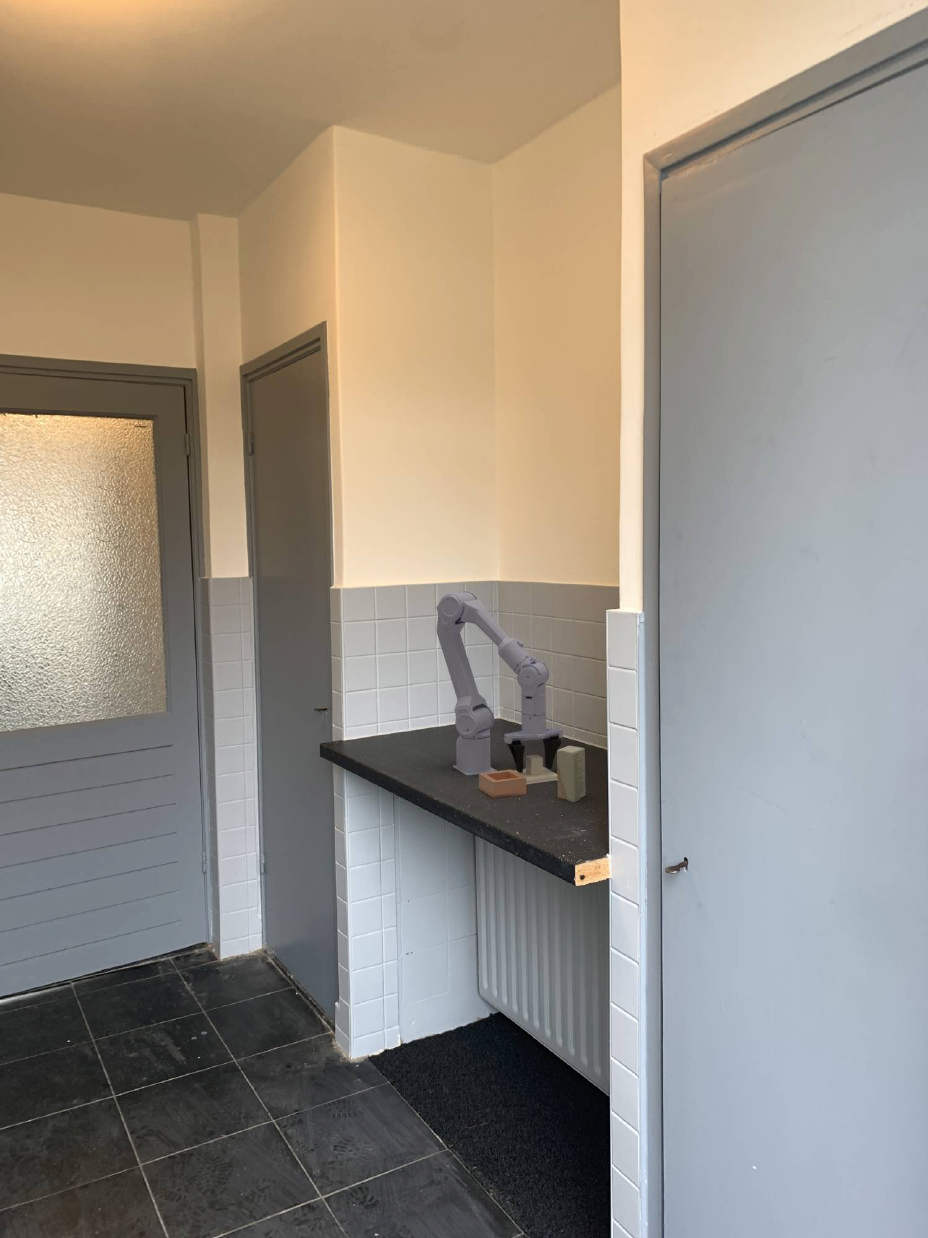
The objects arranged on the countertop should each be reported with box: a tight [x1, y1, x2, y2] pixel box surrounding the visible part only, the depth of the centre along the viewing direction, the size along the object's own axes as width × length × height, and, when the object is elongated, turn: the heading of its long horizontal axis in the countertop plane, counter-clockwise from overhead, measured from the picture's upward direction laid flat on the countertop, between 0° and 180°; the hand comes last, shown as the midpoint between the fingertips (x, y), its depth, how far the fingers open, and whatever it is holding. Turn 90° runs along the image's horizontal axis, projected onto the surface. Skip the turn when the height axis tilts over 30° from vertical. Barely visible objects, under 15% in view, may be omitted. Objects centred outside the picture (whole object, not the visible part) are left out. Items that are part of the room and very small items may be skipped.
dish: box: [478, 769, 527, 800], centre depth 201 cm, size 8×8×4 cm
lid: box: [512, 754, 557, 784], centre depth 213 cm, size 9×9×5 cm
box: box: [556, 745, 586, 803], centre depth 196 cm, size 5×4×11 cm
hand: (534, 770), depth 213 cm, fingers open, 7 cm apart
